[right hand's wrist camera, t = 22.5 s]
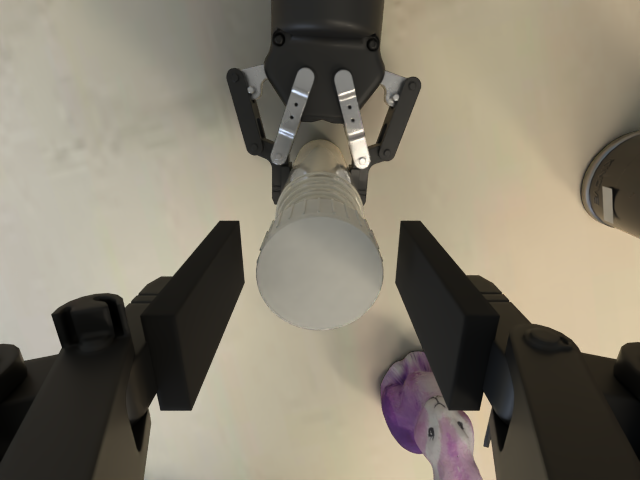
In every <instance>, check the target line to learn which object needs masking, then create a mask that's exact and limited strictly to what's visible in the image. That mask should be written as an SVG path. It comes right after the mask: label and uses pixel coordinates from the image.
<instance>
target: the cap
mask: <svg viewBox="0 0 640 480" xmlns="http://www.w3.org/2000/svg"><path fill="white" fill-rule="evenodd" d="M378 249H379V246H378V244H377V241H376V239H375V236H374V234H373V231H372V230H370V228H369V226H368V223H367V221H366V219H363V218H362V217H361V216H360V214H358V211H357V210H354V209H352V208H351V207H349V206H347V204H346V203H344V204H343V203H341V202H338V201H335V200H334V199H331V200H330V199H320V198H318V199H310V200H306V199H304V201H302V202H299V203H296V204H292V205H291V207H289V208H287V209H286V210H285V211H281V213H280V215H279V216H278V217H277V219H276V220H275V221H274V220H273V221H272V224H271V226H270V229H269V231H267V233H266V235H265V238H264V240H263V243H262V245H261V248H260V251H261V252H260V255H259V257H258V260H257V268H256V278H257V285H258V288H259V291H260V294H261V296H262V298H263V300H264V301H265V303H266V304H267V306H268V307H269V308H270V309H271V310H272V311H273V312H274V313H275V314H276V315H277V316H278V317H280V318H281V319H283V320H284V321H286V322H288V323H290V324H292V325H295V326H297V327H301V328H304V329H310V330H330V329H336V328H339V327H343V326H345V325H347V324H350V323H352V322H353V321H355V320H357V319H358V318H360V317H361V316H362V315H364V314H365V313H366V312H367V311H368V310H369V309H370V307H371V306H372V305H373V304H374V302H375V300H376V299H377V297H378V295H379V293H380V290H381V287H382V282H383V264H382V262H383V260H382V257H381V255H380V252H379V250H378Z"/></svg>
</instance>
